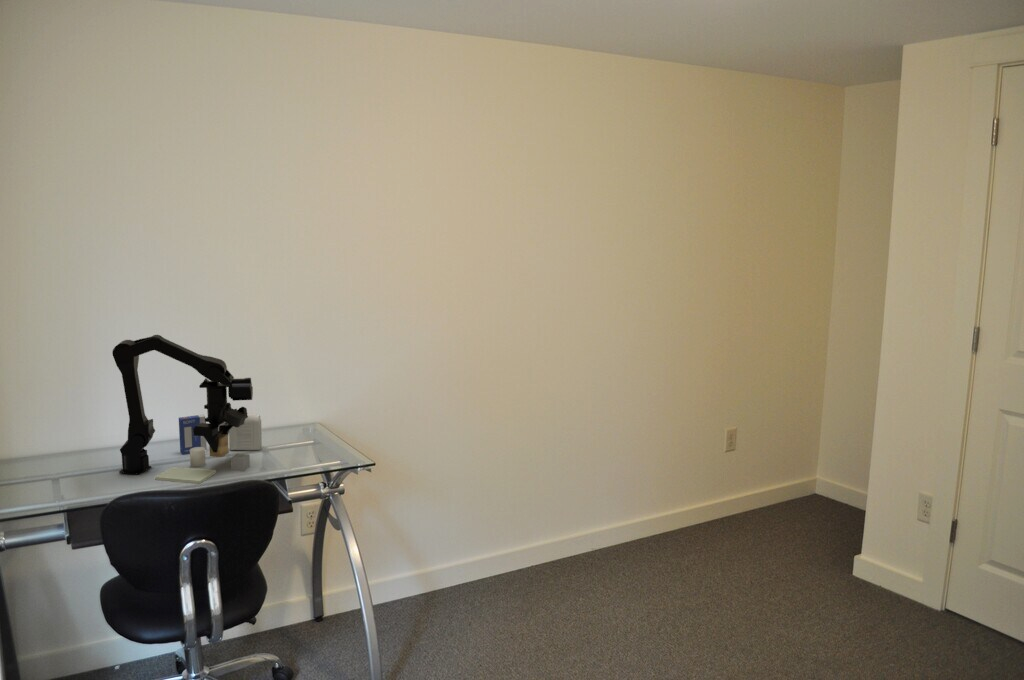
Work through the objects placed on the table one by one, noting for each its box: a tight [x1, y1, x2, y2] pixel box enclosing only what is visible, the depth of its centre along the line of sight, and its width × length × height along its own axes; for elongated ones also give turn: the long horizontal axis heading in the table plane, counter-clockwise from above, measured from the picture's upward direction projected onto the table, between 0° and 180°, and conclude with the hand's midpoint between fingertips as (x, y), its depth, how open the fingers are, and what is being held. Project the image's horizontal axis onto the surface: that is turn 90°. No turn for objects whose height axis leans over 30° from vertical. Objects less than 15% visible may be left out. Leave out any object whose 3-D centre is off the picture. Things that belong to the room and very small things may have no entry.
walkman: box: [178, 414, 208, 455], centre depth 244 cm, size 8×3×12 cm, turn 125°
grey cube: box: [230, 453, 251, 472], centre depth 231 cm, size 4×4×4 cm
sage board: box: [154, 466, 217, 484], centre depth 223 cm, size 14×9×1 cm, turn 82°
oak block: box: [208, 434, 230, 458], centre depth 231 cm, size 4×4×6 cm
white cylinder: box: [189, 447, 207, 468], centre depth 233 cm, size 4×4×5 cm
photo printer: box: [228, 412, 263, 451], centre depth 248 cm, size 10×4×12 cm, turn 98°
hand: (219, 449), depth 232 cm, fingers closed on oak block, 4 cm apart
